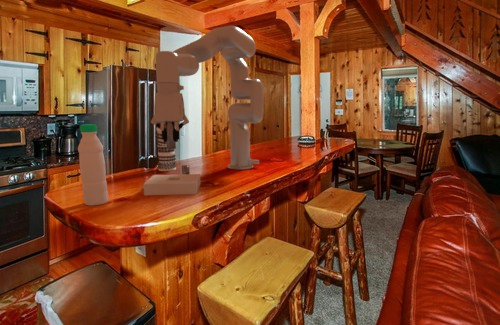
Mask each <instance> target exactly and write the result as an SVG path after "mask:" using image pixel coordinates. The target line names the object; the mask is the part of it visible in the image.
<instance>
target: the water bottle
mask: <svg viewBox="0 0 500 325" xmlns="http://www.w3.org/2000/svg"><path fill="white" fill-rule="evenodd" d="M79 131H80V134H81V136H82V137H81V139H80V141H79V144H78V146H77V151H78V153H79V154H78V159H79V160H78V161H79V170H80V178H81V181H82V183H81V188H82V192H83V193H82V194H83V198H82V199H83V204H84V205H85V206H89V207H95V206H101V205H103V204H106V203H108V201H109V192H108V182H107V179H106V178H107V177H106V176H107V173H106V170H107V169H106V161H105V155H104V145H103V144H102V142H101V140H100V138H99V137H98V136H97V134H98V125H97V124H93V123H85V124H80V125H79Z"/></svg>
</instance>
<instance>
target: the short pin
mask: <svg viewBox="0 0 500 325" xmlns="http://www.w3.org/2000/svg"><path fill="white" fill-rule="evenodd" d="M190 172H191V171H190V165H188V164H183V165H181V174H191V173H190Z"/></svg>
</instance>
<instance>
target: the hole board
mask: <svg viewBox="0 0 500 325" xmlns="http://www.w3.org/2000/svg"><path fill="white" fill-rule="evenodd" d="M200 186H201V174H199V173H190V174H182V173H181V174H152V176H150V178H148V179H147V180H146V181H145V182H144V183H143V196H175V195H176V196H177V195H197V194H198V191H199V189H200Z"/></svg>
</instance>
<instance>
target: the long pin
mask: <svg viewBox="0 0 500 325" xmlns="http://www.w3.org/2000/svg"><path fill="white" fill-rule="evenodd" d="M165 124H166V144H167V149H174V150H175V149H177V145H176V143H177V142H175V140H174V131H175V123H174V122H165Z"/></svg>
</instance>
